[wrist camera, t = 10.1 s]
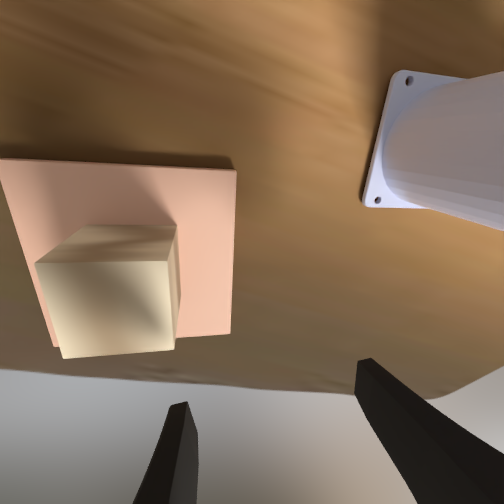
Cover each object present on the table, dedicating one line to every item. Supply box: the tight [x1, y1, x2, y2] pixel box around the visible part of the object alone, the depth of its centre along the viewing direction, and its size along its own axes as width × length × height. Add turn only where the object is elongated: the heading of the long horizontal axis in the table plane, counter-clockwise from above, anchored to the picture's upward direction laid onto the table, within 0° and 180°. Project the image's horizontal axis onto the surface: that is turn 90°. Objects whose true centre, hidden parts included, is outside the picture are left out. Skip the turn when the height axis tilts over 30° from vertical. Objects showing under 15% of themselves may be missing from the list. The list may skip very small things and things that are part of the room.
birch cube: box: [34, 224, 181, 359], centre depth 14 cm, size 5×5×5 cm
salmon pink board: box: [0, 158, 237, 347], centre depth 16 cm, size 12×12×1 cm
